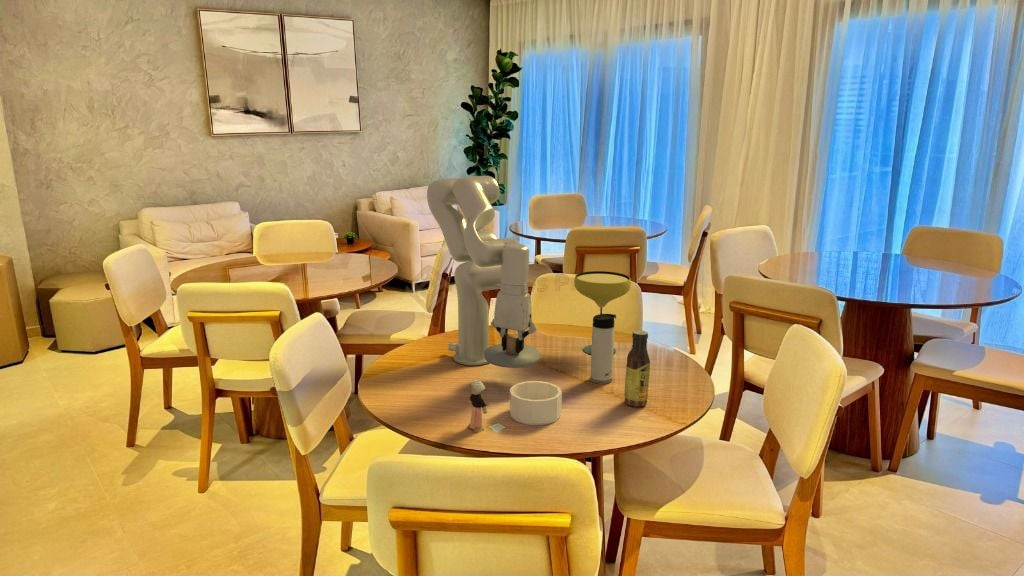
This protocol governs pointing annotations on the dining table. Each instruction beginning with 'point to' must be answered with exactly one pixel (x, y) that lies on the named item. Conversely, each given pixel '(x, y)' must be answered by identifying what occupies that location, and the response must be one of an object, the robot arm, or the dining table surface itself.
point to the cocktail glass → (601, 289)
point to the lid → (512, 354)
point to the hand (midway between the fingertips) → (512, 349)
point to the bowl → (535, 402)
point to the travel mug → (602, 348)
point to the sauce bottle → (637, 371)
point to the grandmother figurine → (477, 406)
